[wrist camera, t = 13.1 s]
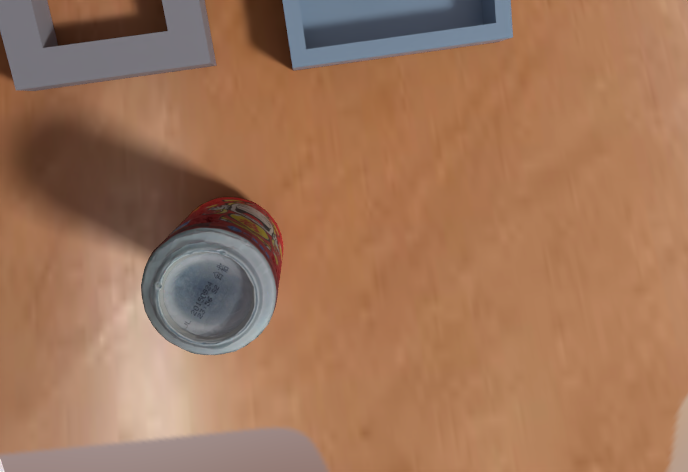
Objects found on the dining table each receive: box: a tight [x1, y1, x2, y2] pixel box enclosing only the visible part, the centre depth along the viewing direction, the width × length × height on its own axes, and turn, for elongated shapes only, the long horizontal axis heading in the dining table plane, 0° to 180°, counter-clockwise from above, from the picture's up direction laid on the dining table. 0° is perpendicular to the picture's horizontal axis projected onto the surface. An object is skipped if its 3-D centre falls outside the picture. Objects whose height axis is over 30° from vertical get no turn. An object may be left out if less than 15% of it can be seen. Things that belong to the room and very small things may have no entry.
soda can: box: [141, 197, 283, 355], centre depth 35 cm, size 7×7×12 cm
